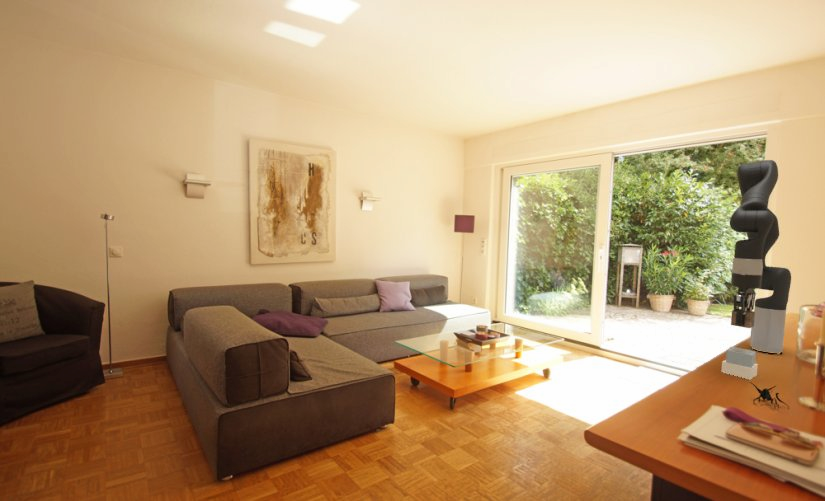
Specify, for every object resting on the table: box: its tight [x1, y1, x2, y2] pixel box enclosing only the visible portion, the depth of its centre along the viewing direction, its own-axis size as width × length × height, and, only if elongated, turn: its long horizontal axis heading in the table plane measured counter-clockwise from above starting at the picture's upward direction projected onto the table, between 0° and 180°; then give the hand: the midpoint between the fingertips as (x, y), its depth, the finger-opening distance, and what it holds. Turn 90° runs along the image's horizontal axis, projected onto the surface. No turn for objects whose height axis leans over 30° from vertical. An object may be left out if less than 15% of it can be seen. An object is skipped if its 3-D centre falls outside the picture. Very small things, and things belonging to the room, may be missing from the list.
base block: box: [720, 359, 759, 381], centre depth 131 cm, size 8×8×4 cm
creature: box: [749, 382, 790, 410], centre depth 108 cm, size 8×5×8 cm
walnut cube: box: [730, 309, 755, 329], centre depth 130 cm, size 5×5×5 cm
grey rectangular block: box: [725, 346, 757, 368], centre depth 131 cm, size 6×6×4 cm
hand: (742, 324), depth 130 cm, fingers closed on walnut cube, 4 cm apart
